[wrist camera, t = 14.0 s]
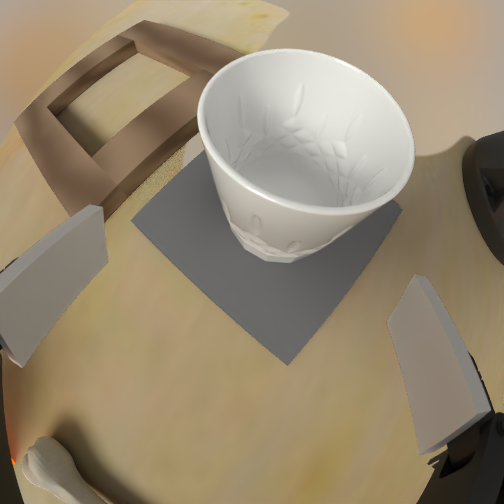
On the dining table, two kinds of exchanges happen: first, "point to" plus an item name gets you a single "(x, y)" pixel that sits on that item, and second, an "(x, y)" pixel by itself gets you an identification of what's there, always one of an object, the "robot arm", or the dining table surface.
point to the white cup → (301, 149)
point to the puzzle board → (133, 134)
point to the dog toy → (57, 473)
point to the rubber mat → (256, 262)
